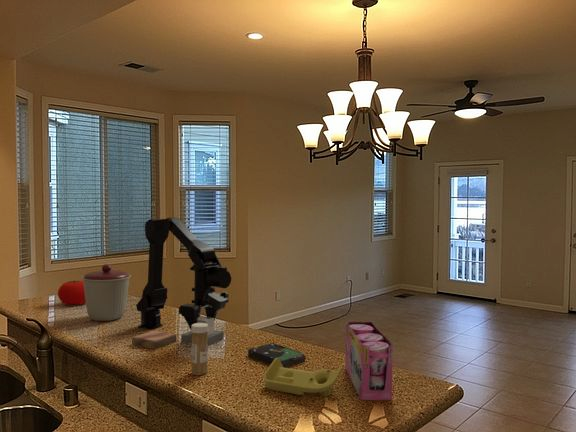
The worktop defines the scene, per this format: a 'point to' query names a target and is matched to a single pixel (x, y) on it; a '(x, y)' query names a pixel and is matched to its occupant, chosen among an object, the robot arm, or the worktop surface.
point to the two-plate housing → (208, 321)
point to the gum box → (369, 361)
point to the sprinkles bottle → (199, 348)
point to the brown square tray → (154, 339)
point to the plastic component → (299, 379)
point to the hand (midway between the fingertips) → (202, 330)
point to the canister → (106, 293)
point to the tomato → (72, 293)
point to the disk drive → (276, 354)
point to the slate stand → (210, 338)
